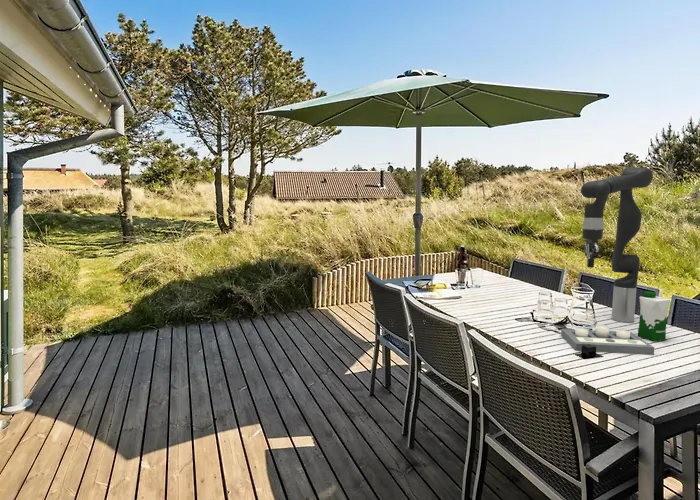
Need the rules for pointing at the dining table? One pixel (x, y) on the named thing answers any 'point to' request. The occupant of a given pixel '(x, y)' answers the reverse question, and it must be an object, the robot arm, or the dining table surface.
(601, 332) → the button
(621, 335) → the button
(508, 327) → the dining table surface
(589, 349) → the black boxy piece
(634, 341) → the strip
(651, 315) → the milk carton
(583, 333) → the button
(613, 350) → the button board
